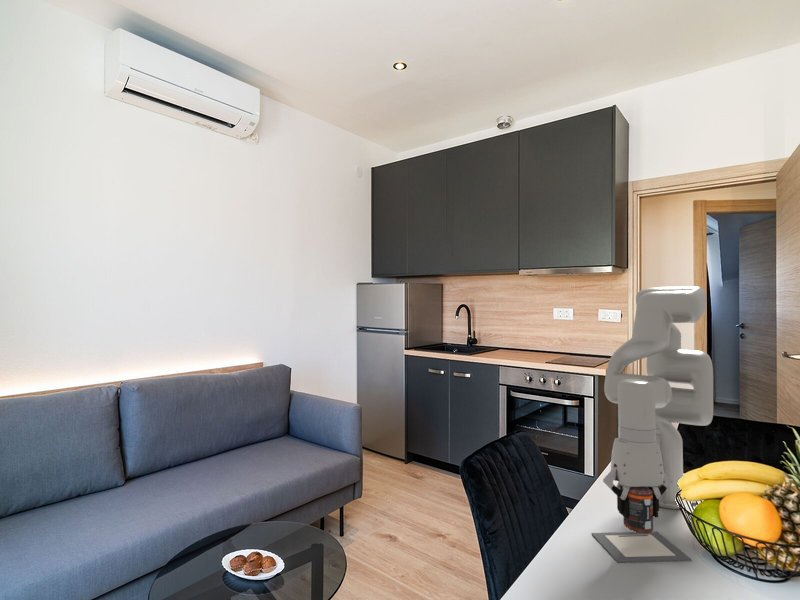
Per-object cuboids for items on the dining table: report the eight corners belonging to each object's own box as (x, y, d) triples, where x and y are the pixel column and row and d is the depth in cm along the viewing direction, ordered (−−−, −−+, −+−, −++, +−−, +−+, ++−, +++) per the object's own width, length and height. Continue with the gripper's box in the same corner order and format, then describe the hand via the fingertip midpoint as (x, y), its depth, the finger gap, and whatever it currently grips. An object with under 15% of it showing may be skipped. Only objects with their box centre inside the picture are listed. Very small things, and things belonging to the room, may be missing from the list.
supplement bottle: (657, 535, 97) (656, 483, 97) (628, 533, 98) (627, 481, 98) (648, 523, 103) (647, 473, 103) (620, 520, 104) (619, 471, 104)
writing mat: (657, 532, 107) (657, 530, 107) (691, 560, 95) (691, 558, 95) (591, 534, 106) (591, 532, 106) (617, 562, 94) (617, 560, 94)
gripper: (663, 429, 105) (665, 507, 105) (591, 430, 105) (592, 508, 104) (685, 438, 98) (686, 522, 97) (607, 439, 97) (608, 523, 97)
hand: (638, 514), depth 101 cm, fingers closed on supplement bottle, 6 cm apart
